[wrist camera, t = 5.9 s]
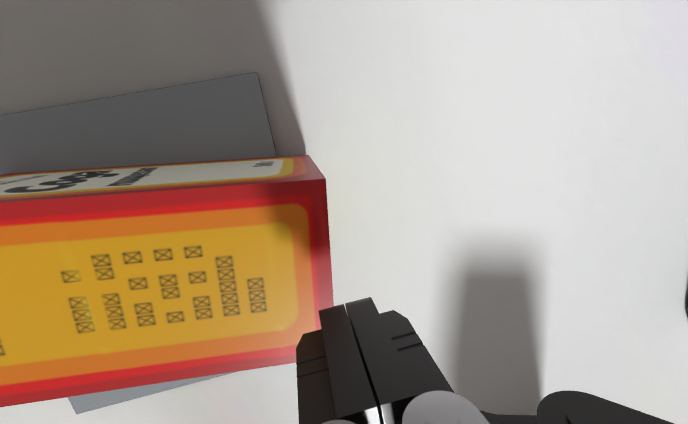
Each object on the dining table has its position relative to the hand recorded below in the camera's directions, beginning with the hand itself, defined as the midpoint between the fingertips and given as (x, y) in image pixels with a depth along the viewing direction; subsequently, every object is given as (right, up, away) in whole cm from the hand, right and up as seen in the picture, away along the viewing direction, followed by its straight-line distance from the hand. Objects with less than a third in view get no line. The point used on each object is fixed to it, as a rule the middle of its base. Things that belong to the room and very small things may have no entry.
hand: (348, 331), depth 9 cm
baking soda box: (-1, +2, +6) cm, 7 cm away
